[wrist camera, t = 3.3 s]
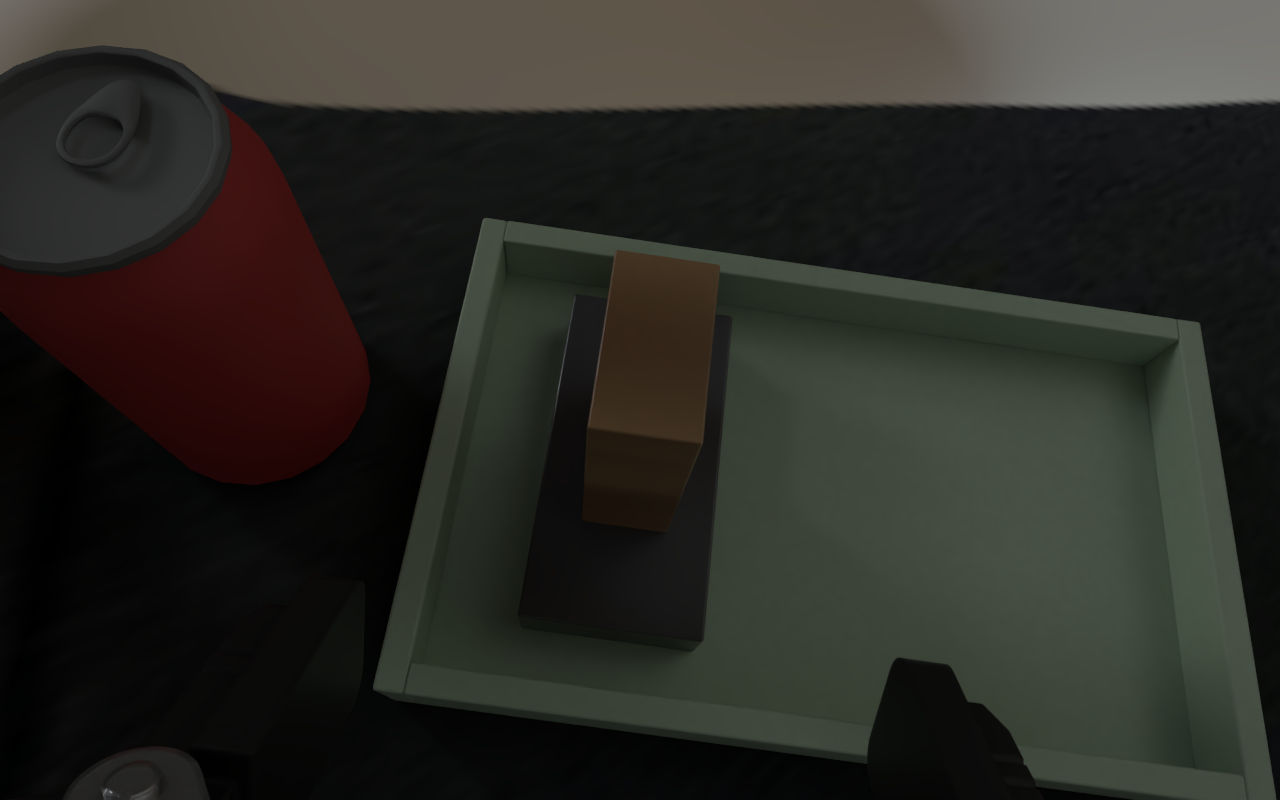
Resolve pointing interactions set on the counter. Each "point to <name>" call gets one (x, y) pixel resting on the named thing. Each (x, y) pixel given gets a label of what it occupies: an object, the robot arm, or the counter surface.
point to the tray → (865, 526)
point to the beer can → (172, 264)
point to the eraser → (633, 460)
